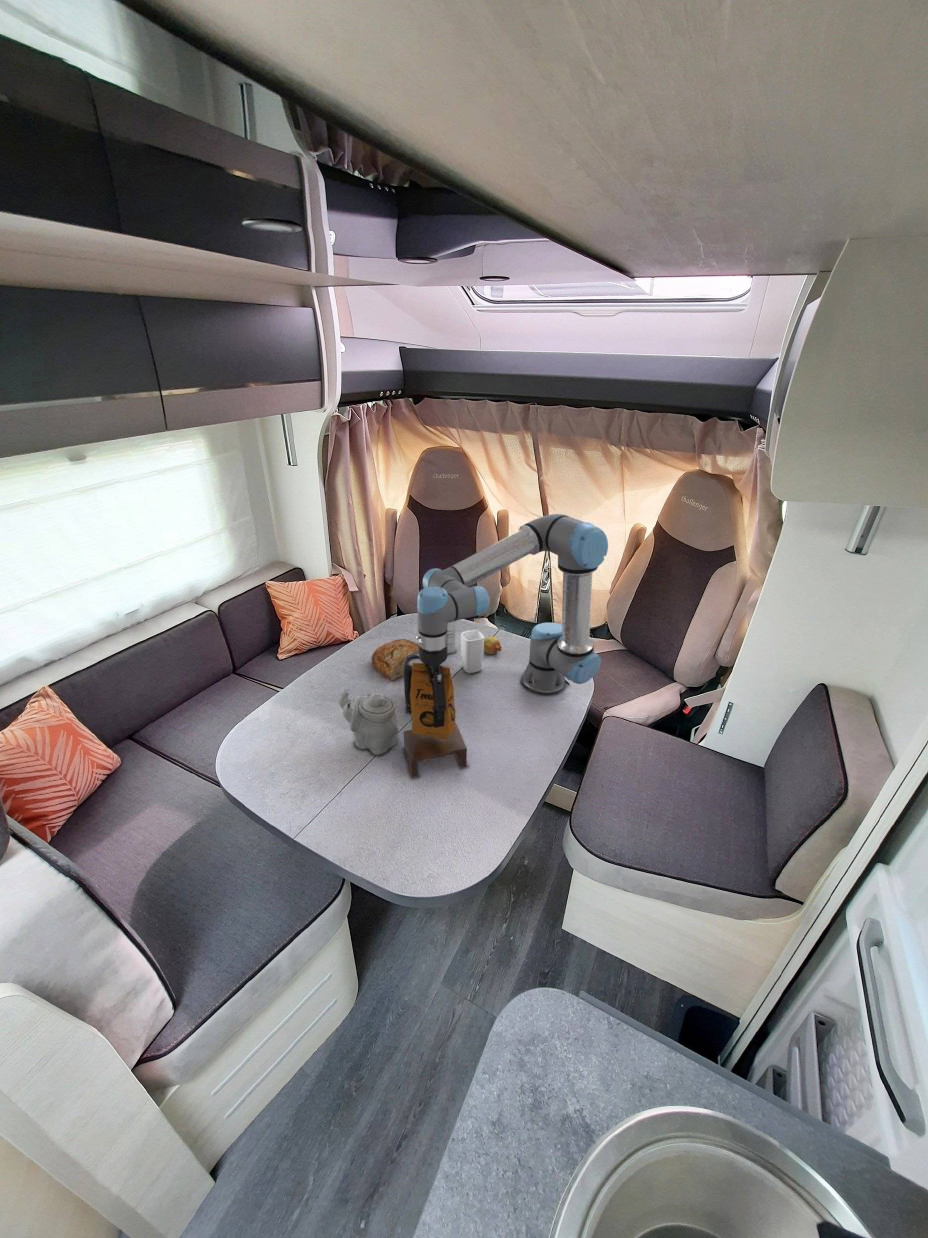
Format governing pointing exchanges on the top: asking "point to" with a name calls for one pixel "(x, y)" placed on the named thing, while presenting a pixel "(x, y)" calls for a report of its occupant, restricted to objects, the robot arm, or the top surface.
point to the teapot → (371, 721)
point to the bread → (393, 657)
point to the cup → (472, 650)
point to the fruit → (492, 645)
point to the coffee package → (430, 703)
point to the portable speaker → (409, 679)
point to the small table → (433, 748)
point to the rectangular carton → (451, 637)
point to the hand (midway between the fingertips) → (433, 712)
